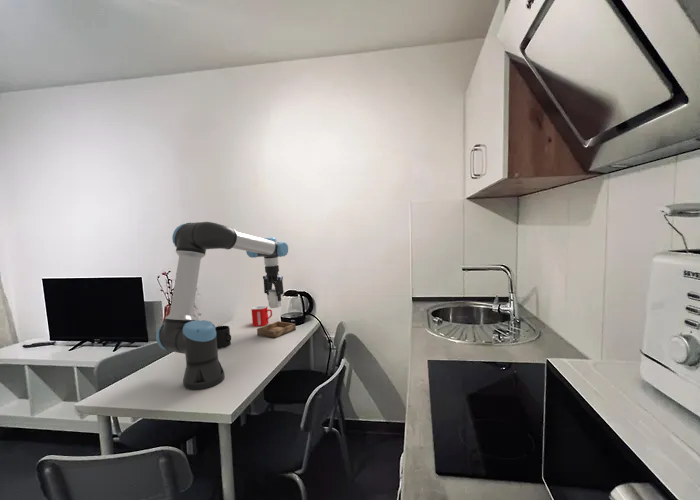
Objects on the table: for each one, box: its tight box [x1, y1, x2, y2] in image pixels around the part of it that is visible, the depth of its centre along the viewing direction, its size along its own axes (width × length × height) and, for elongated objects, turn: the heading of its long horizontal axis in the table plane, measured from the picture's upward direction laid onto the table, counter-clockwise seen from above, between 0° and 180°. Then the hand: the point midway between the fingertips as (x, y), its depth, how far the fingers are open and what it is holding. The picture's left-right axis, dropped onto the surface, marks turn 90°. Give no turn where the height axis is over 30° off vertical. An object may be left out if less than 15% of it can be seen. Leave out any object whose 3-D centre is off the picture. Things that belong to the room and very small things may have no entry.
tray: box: [256, 321, 297, 339], centre depth 198 cm, size 16×14×4 cm
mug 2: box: [250, 305, 273, 327], centre depth 215 cm, size 12×8×11 cm
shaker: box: [268, 288, 279, 309], centre depth 196 cm, size 6×6×10 cm
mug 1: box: [215, 325, 232, 349], centre depth 180 cm, size 9×12×9 cm
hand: (274, 306), depth 197 cm, fingers closed on shaker, 6 cm apart
